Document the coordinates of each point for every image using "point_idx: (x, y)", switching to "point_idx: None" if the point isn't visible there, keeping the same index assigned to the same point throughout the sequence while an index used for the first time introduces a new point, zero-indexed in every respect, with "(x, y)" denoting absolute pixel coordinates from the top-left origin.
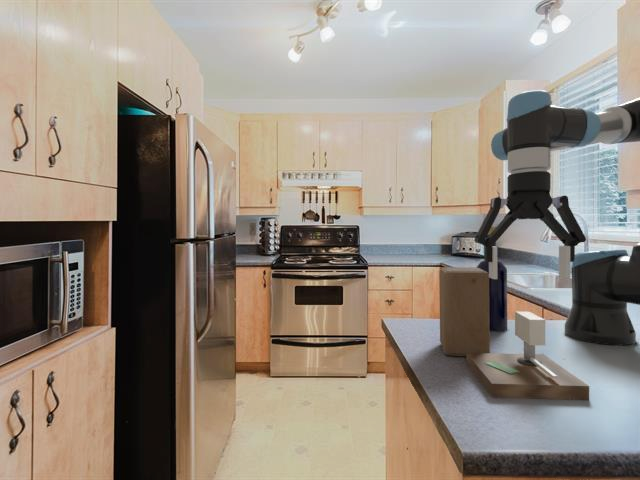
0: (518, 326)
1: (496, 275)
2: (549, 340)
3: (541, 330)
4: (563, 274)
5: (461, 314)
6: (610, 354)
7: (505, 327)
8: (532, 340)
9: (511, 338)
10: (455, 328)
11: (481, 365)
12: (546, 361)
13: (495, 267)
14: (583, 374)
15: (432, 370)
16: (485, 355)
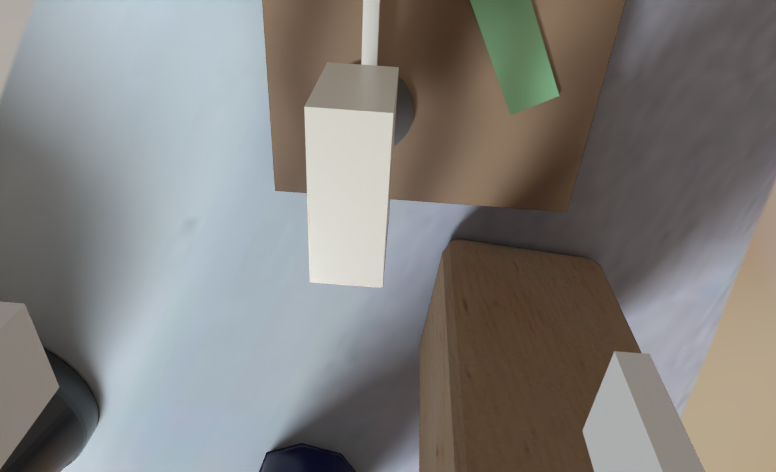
0: (388, 212)
1: (635, 376)
2: (169, 372)
3: (334, 87)
4: (15, 362)
5: (584, 366)
6: (20, 257)
7: (272, 460)
8: (386, 72)
9: (285, 393)
10: (593, 322)
11: (585, 76)
12: (298, 116)
13: (674, 447)
14: (179, 88)
15: (726, 132)
16: (506, 184)
